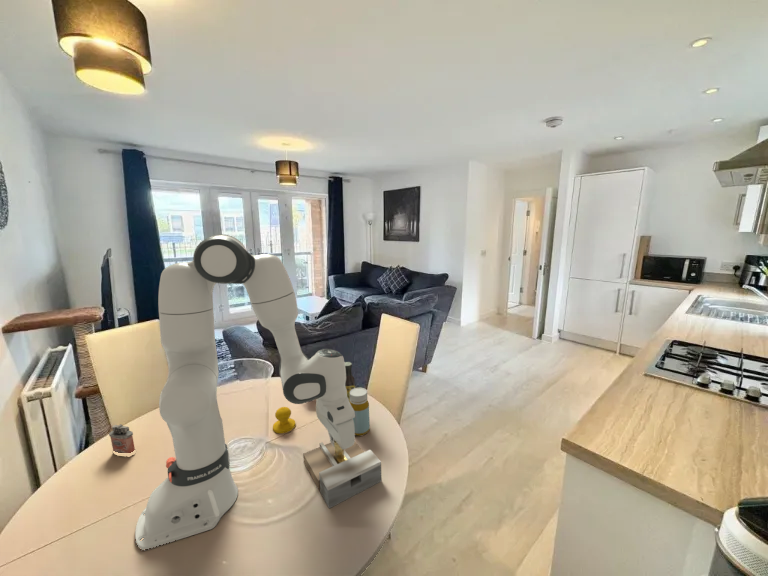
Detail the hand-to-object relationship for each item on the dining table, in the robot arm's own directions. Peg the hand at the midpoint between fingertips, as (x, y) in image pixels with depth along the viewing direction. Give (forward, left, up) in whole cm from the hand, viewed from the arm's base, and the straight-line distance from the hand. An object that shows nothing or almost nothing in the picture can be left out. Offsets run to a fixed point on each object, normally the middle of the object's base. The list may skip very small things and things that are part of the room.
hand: (334, 444), depth 95 cm
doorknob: (-8, +28, -7) cm, 30 cm away
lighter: (-56, +44, -7) cm, 72 cm away
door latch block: (0, -4, -7) cm, 8 cm away
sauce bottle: (+16, +24, -7) cm, 30 cm away
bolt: (0, -6, -3) cm, 7 cm away
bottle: (+14, +10, -7) cm, 19 cm away
